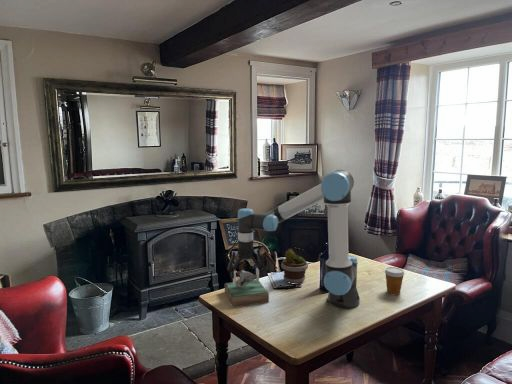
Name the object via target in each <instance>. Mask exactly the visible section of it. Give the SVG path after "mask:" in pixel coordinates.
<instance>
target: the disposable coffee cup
mask: <svg viewBox="0 0 512 384" xmlns="http://www.w3.org/2000/svg"><path fill="white" fill-rule="evenodd" d="M384 273H385V283H386V292H387V293H388V294H389V295H392V296H393V295H395V296H397V295H400V294H401V291H402V285H403V280H404V275H405V271H404V269H402V268H400V267H396V266H388V267H386V268H385V270H384Z"/></svg>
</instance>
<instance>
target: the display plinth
mask: <svg viewBox="0 0 512 384" xmlns="http://www.w3.org/2000/svg"><path fill="white" fill-rule="evenodd" d="M237 282H238V281H236V283H237ZM224 293H225V295H226V297H227V300H228V301H229V303H230V305H231V307H232V308H236V307H242V306H250V305H257V304H259V305H260V304H265V303H269V301H270V293H269V292H268V290H267V289H266V288H265V286H264V285H263V284H262V283H261V282H260V281H259V282H257V281H256V279H253V281H252V282H250V283H249V284H247V285H245V286H244V287H236V285H234V284H233V281H232V282H225V283H224Z"/></svg>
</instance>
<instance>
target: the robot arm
mask: <svg viewBox="0 0 512 384" xmlns="http://www.w3.org/2000/svg"><path fill="white" fill-rule="evenodd" d="M354 183H355V180H354V177H353V175H352V174H351V173H350V172H349V171H347V170H344V169H337V170H334V171H331V172H330V173H327V174H326V175H325V176H324V178H323V179H322V181H321V183H319V184H318V185H316V186H314V187H312V188H310V189H308V190H307V191H304V192H302V193H300V194H299V195H297V196H295V197H293V198H292V199H290V200H288V201H286V202H284V203H282V204H280V205H279V206H276V207H274V208H272V209H270V210H269V211H266V212H265V213H262V214H261V213H259V214H258V213H254V210H253V209H252V208H248V207H246V208H240V209H238V211H237V218H236V219H237V240H238V241H237V251H236V250H232V251H231V257H230V260H229V262H228V265H227V267H226V269H227V271H228V272H230V277H231V279H232V282H233V284H234V285H236V282H237V279H236V278H237V276H236V275H237V274H236V273H237V272H236V269H237V268H238V266H239V264H240V263H241V261H243V260H249V259H250V260H251V261H252V262H253V264H255V266H256V268H255V275H257V277H256V278H255V280H256V281H257V282H260V276H261V275H262V274H261V273H262V269H263V268H265V264H264V261H263V259H262V256H261V254H260V253H261V251H260V249H259V248H255V249H254V230H256V231H257V230H258V231H265V232H275V231H276V230H277V228H278V225H279V224H280V223H281V222H284V221H285V220H288V219H289V218H291V217H293V216H295V215H298V214H299V213H301V212H303V211H305V210H307V209H309V208H311V207H312V206H315V205H317V204H319V203H321V202H323V204H324V205H326V206H327V234H328V236H327V237H328V259H327V260H326V261H325V275H324V276H323V285H324V288H325V289H326V290H327V292H328V295H327V302H328V303H329V305H332V306H334V307H336V308H343V309H352V308H357V307H358V306H360V304H361V303H360V302H361V300H360V299H361V298H360V295H359V292H358V291H359V290H358V287H357V281H358V278H357V277H358V265H359V264H358V258H357V257H356V256H354V255H350V254H349V215H348V213H349V212H348V209H349V205H350V204H351V203H352V189H353V188H354V185H355V184H354ZM254 254H256V256H257V259H258V261H257V260H256V258H255V257H254V256H253V255H254ZM237 255H238V256H237ZM235 258H236V260H235ZM258 262H259V263H258Z"/></svg>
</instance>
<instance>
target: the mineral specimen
mask: <svg viewBox="0 0 512 384" xmlns="http://www.w3.org/2000/svg"><path fill="white" fill-rule="evenodd" d="M256 277H257V275H256V274H254V273H252V272H250V271H247V270H246V271H245V270H244V269H242V270H240V273H239V278H238V281H236V282H237V283H236V287H244V286H245V285H247V284H249V283H250V282H252V281H253V280H255V279H256Z"/></svg>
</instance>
